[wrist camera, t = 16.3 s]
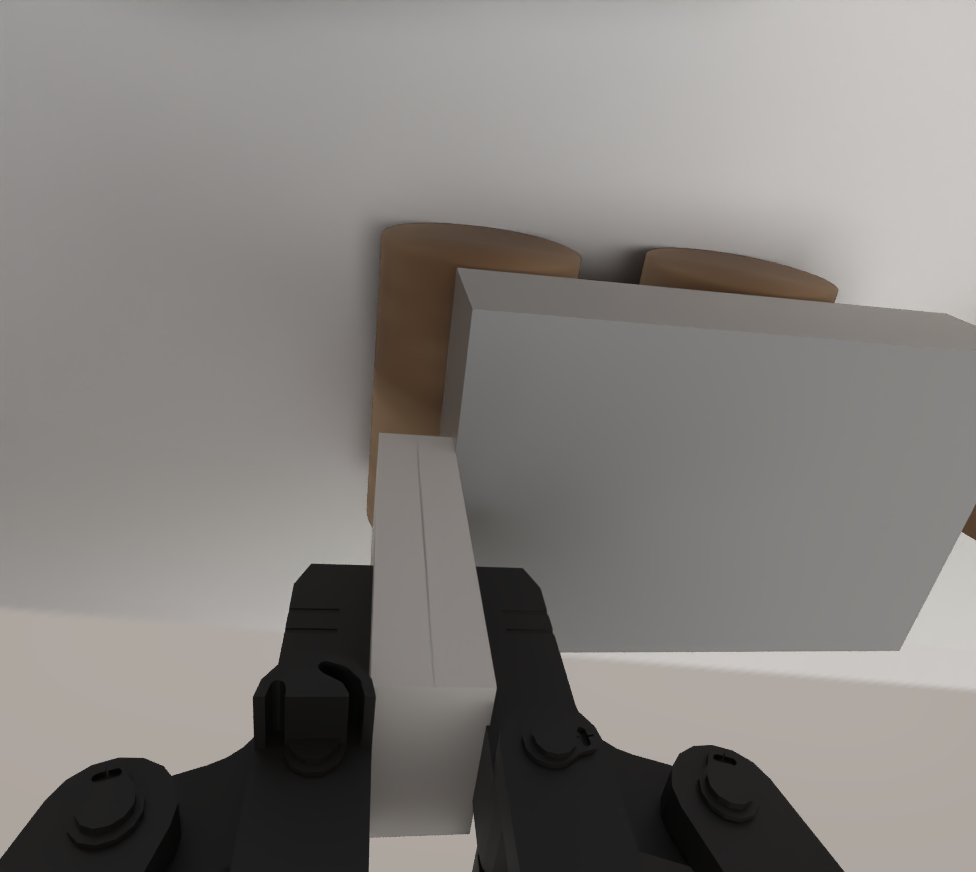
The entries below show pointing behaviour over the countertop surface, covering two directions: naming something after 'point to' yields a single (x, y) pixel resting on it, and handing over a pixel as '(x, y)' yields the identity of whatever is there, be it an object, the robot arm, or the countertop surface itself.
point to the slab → (710, 460)
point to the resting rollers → (445, 247)
